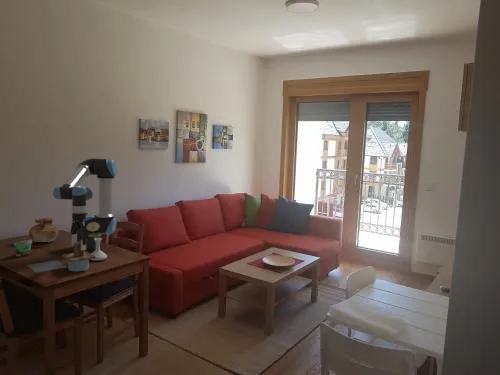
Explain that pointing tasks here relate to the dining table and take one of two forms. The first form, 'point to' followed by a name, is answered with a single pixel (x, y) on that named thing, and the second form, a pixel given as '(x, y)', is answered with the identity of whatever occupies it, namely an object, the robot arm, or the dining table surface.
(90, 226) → the flower in vase
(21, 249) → the food container
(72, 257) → the walnut lid
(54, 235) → the clay pot
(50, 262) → the rubber mat
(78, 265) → the ceramic bowl
